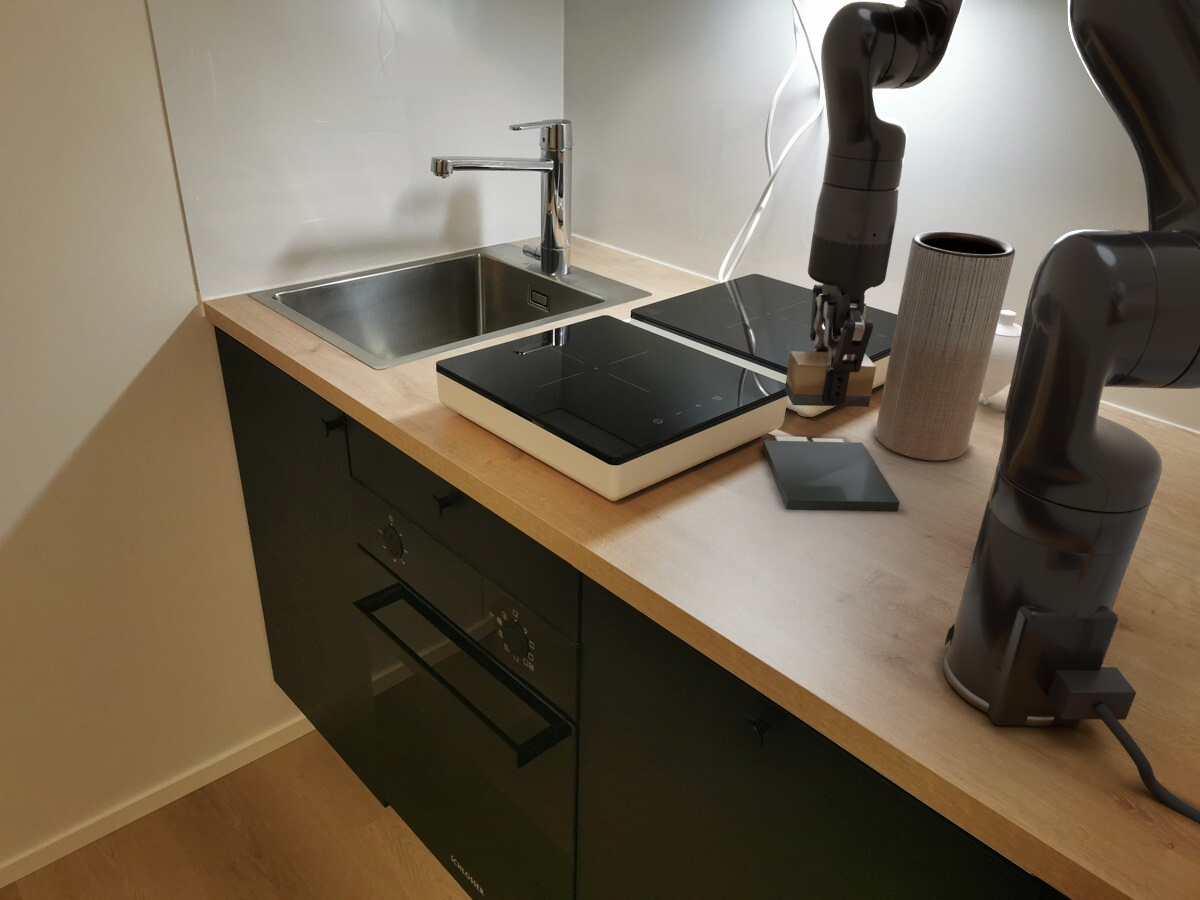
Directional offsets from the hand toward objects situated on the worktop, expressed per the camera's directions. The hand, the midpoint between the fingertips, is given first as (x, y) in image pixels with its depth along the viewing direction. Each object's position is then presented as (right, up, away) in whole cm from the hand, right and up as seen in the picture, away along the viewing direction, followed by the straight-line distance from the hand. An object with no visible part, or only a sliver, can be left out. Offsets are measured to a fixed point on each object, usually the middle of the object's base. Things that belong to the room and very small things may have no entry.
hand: (827, 394), depth 95 cm
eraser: (0, 0, 0) cm, 0 cm away
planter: (+12, -5, +7) cm, 15 cm away
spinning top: (+24, 0, +18) cm, 30 cm away
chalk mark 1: (+2, -5, +6) cm, 8 cm away
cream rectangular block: (-2, -5, +6) cm, 8 cm away
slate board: (0, -9, -1) cm, 9 cm away
